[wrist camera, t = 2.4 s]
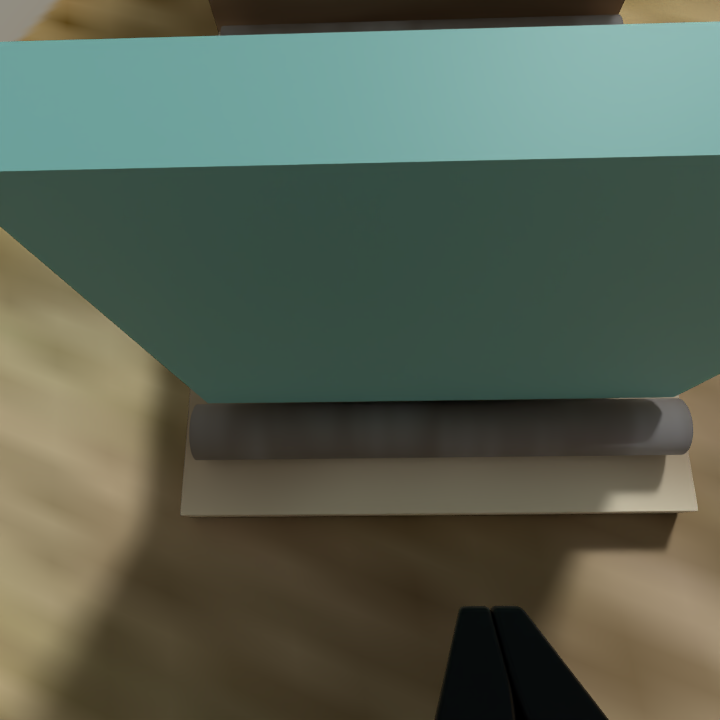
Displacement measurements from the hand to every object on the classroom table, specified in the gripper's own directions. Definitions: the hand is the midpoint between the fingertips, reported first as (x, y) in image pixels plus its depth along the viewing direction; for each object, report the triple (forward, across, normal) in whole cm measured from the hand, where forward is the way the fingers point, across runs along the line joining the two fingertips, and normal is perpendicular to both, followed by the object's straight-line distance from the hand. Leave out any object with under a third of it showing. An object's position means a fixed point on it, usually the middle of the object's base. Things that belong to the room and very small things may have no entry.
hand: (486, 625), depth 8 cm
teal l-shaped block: (+9, 0, -2) cm, 9 cm away
